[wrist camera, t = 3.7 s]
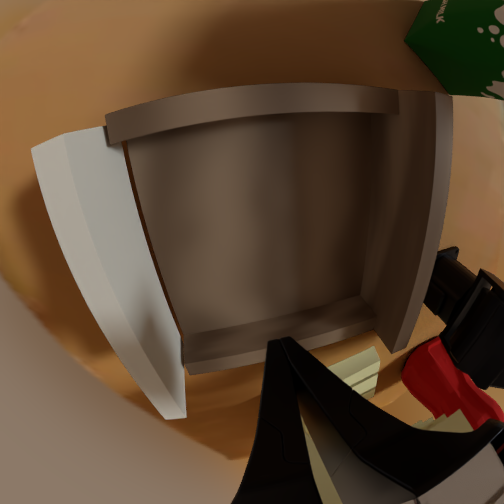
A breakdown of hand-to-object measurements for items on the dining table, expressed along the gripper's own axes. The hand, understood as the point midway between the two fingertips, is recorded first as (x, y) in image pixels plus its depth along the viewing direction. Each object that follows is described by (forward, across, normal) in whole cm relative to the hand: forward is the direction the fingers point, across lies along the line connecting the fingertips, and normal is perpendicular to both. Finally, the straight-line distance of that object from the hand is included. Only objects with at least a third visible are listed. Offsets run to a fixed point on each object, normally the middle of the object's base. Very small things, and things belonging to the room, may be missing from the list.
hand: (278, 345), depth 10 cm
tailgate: (+9, +6, 0) cm, 11 cm away
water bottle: (+11, -26, +28) cm, 40 cm away
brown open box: (+11, -2, 0) cm, 11 cm away
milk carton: (+11, -20, -15) cm, 28 cm away
